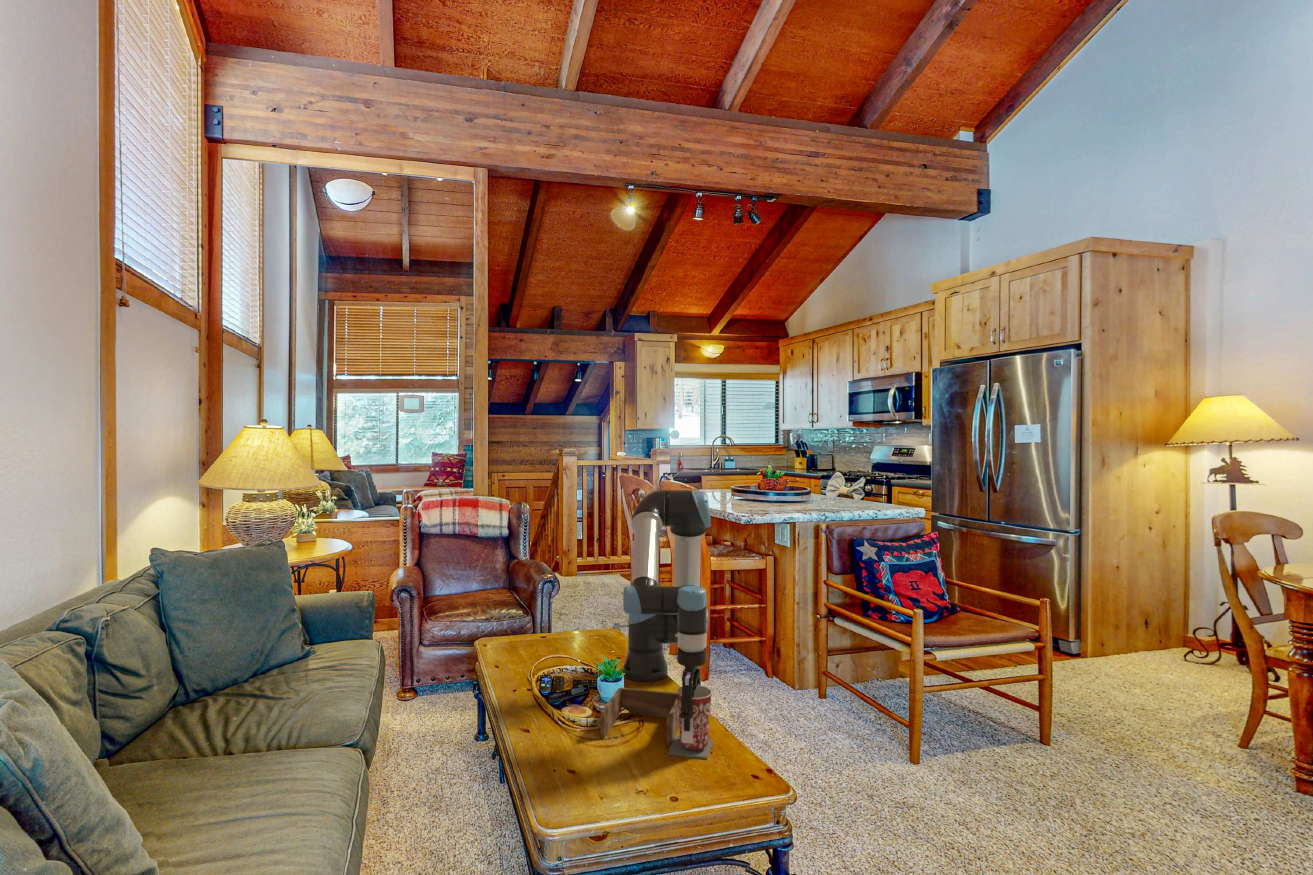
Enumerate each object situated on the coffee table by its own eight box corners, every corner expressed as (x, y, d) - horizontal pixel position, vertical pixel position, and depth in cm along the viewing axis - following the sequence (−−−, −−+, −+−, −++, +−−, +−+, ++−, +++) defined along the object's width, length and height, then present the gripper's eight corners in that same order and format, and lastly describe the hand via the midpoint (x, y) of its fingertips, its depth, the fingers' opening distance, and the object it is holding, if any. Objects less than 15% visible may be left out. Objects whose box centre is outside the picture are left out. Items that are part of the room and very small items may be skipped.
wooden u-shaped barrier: (619, 711, 200) (619, 687, 200) (682, 717, 196) (683, 693, 196) (600, 737, 183) (600, 711, 183) (670, 745, 178) (670, 718, 178)
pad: (675, 737, 183) (675, 735, 183) (712, 741, 181) (712, 739, 181) (668, 754, 173) (668, 752, 173) (707, 759, 171) (707, 756, 171)
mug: (718, 747, 174) (718, 694, 174) (686, 753, 170) (686, 699, 170) (695, 727, 185) (696, 677, 185) (665, 733, 182) (665, 682, 182)
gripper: (685, 633, 189) (684, 714, 189) (668, 660, 167) (667, 751, 167) (712, 635, 187) (711, 717, 187) (699, 662, 165) (698, 754, 165)
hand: (691, 733), depth 177 cm, fingers closed on mug, 10 cm apart
